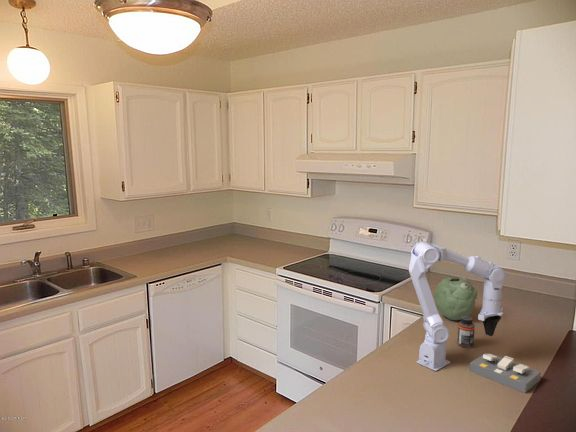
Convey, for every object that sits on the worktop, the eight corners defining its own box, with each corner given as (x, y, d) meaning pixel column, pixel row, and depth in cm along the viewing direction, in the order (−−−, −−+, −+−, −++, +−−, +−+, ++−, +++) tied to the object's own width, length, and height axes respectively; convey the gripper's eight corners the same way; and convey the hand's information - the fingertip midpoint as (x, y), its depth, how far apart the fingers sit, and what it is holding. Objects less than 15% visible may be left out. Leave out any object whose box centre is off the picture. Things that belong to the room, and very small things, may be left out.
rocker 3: (521, 373, 134) (522, 369, 134) (512, 370, 136) (513, 366, 136) (529, 370, 138) (529, 366, 138) (520, 367, 140) (520, 363, 140)
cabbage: (438, 309, 203) (440, 269, 200) (479, 318, 191) (482, 276, 188) (426, 319, 190) (428, 277, 187) (470, 329, 179) (473, 284, 176)
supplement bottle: (459, 340, 168) (461, 313, 167) (475, 344, 165) (477, 317, 163) (454, 345, 164) (456, 318, 162) (470, 350, 160) (472, 322, 158)
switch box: (525, 393, 131) (526, 378, 130) (469, 370, 145) (470, 357, 144) (540, 380, 138) (541, 366, 138) (485, 360, 152) (486, 347, 151)
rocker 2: (505, 370, 138) (505, 366, 138) (497, 367, 141) (497, 363, 140) (513, 361, 142) (513, 358, 142) (505, 358, 144) (505, 355, 144)
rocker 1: (490, 360, 142) (491, 357, 142) (482, 357, 144) (483, 354, 144) (497, 360, 146) (498, 356, 146) (490, 357, 148) (490, 353, 148)
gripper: (493, 305, 140) (491, 344, 142) (512, 296, 149) (509, 333, 151) (473, 300, 145) (470, 337, 147) (492, 291, 154) (490, 326, 156)
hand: (489, 334), depth 149 cm, fingers closed
